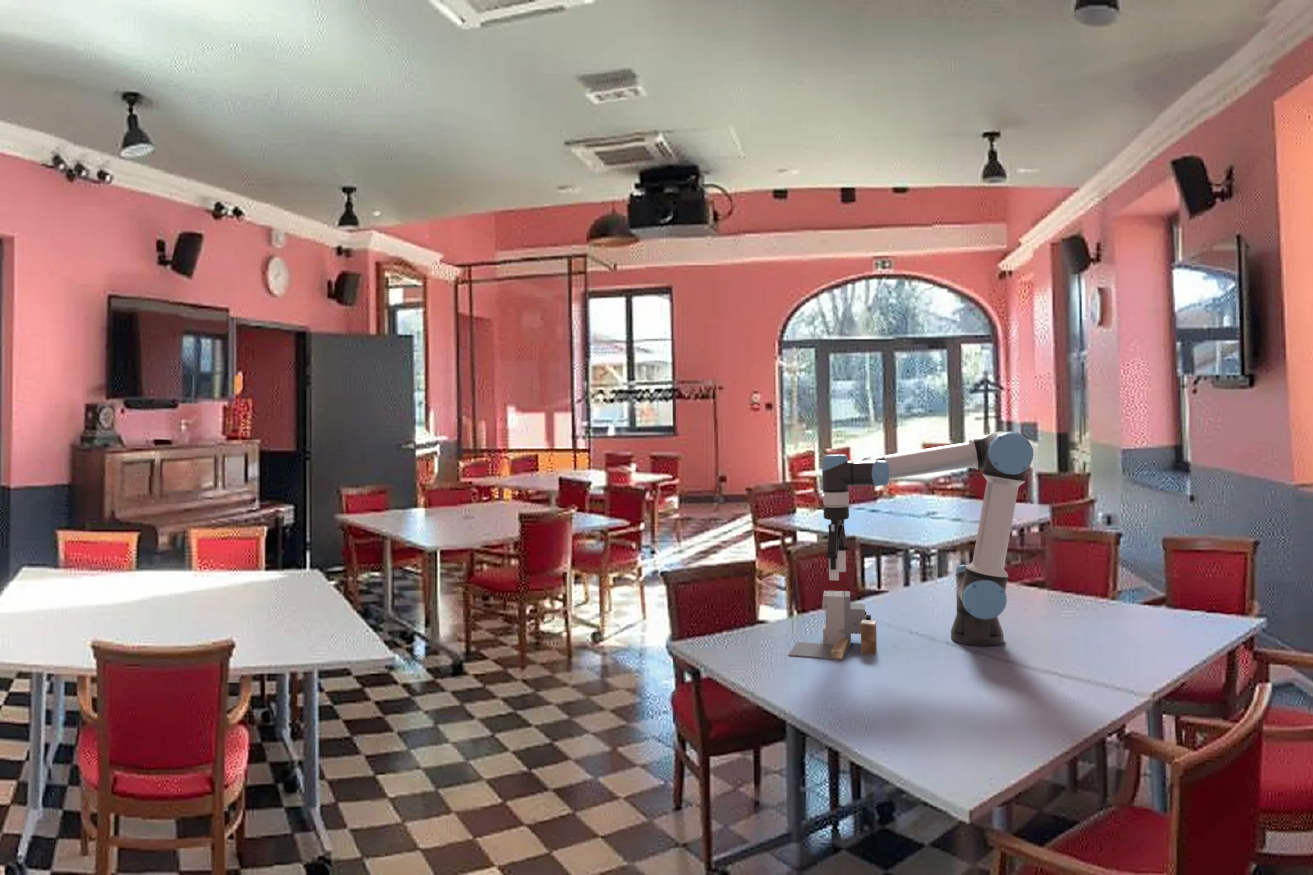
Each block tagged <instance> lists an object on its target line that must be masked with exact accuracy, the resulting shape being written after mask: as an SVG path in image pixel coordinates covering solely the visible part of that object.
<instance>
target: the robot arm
mask: <svg viewBox="0 0 1313 875" xmlns="http://www.w3.org/2000/svg"><path fill="white" fill-rule="evenodd" d="M1033 460H1034V448H1033V445H1032V444H1031V441H1029V439H1028V438H1027V437H1026V436H1024V435H1023V434H1021V433H1020V432H1016V431H1011V430H998V431H995V432H993V433H989V434H986V435H982V436H977V437H972V438H970V439H969V441H967V442H962V443H955V444H949V445H942V446H936V447H930V448H924V449H916V450H912V451H911V450H910V451H904V452H899V453H892V454H886V455H880V456H875V457H874V456H873V457H871V456H869V457H864V458H863V459H861V460H856V461H855V460H849V459H848V455H847V454H842V453H841V454H839V453H838V454H826V455H824V456H823V457H822V468H821V471H822V472H821V473H822V478H821V479H822V491H823V492H822V493H823V494H821V496H820V497H821V498H822V499H823V500H822V501H823V505H824V507H822V508H823V518H824V520H828V521H829V520H830V524H828V526H827V527H828V536H827V539H828V540H827V554H826V555H825V559H828V578H829V581H840V573H846V572H847V560H846V559H847V556H846V555H847V553H846V551H848V550H849V547H848V545H847V540H846V539H847V537H846V530H845V520H848V519H849V518H850V507H849V506H848V505H849V504H850V500H849V498H850V494H849V492H850V491H849V487H857V486H858V487H859V486H861V487H862V486H863V487H871V486H873V487H879V486H888V485H889V483H890V480H892V479H893V480H894V479H899V478H906V477H914V476H920V475H926V474H932V473H933V474H934V473H939V472H947V471H952V470H960V469H966V468H967V469H968V468H974V469H976V470H982V469H983V470H982V476H983V478H984V479H985V480H986V484H985V489H984V495H983V501H982V507H981V513H980V519H979V523H978V529H977V534H976V538H975V539H976V540H975V544H974V545H975V546H974V552H973V556H972V561H971V563H969V564H958V565H957V566H956V569H955V571H956V572H955V586H956V592H955V593H956V597H955V598H956V615H955V616H954V620H953V624H952V626H951V629H950V639H951V640H952V641H954V642H956V643H959V644H963V645H968V646H978V647H990V646H998V645H1001V644H1003V643H1004V641H1005V640H1004V639H1005V637H1004V635H1005V634H1004V632H1003V629H1002V625H1001V623H1000V620H999V616H1001V614H1002V613H1003V612H1004V610H1005V609H1006V606H1007V602H1008V599H1007V597H1008V596H1007V594H1006V591H1007V584H1008V579H1009V574H1008V572H1007V571H1006V570H1005V564H1006V563H1005V562H1006V558H1007V553H1008V548H1009V547H1008V546H1009V541H1010V537H1011V536H1010V535H1011V531H1012V524H1013V521H1014V514H1015V510H1016V509H1015V508H1016V504H1017V503H1016V502H1017V498H1018V491H1019V487H1020V486H1021V485H1023V484H1025V482H1026V481H1027V480H1026V479H1027V477H1028V476H1027V475H1028V470H1029V468H1030V466H1031V465H1032V463H1033Z"/></svg>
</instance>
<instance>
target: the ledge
mask: <svg viewBox="0 0 1313 875" xmlns="http://www.w3.org/2000/svg"><path fill="white" fill-rule="evenodd" d="M847 647H848V639H841V638H838V639H837V641H836V643H835V645H834V647H833V648H832V650H831V658H840V659H842V657H843V655H844V653H845V651H846V649H847Z"/></svg>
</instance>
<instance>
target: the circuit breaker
mask: <svg viewBox="0 0 1313 875" xmlns="http://www.w3.org/2000/svg"><path fill="white" fill-rule="evenodd" d="M821 605H822V611H825V622H824V623H823V628H822V639H823V640H822V644H834V645H835V643H836V641H837V639H838V638H841V639H848V646H850V647H851V645H852V643H851V642H852V635H853V634H854V635H861V622H862V620H872V616H871V614H867V611H866V604H865V603H854V602H853V603H851V591H849V590H845V591H844V590H824V591H823V595H822V604H821Z"/></svg>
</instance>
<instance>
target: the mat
mask: <svg viewBox="0 0 1313 875" xmlns="http://www.w3.org/2000/svg"><path fill="white" fill-rule="evenodd" d="M833 647H834V644H823V643H816V642H802V641H796V643H795V644H794V645H793V647H792V648H791V649H790V651H788V654H787V656H788V657H798V658H810V659H811V658H812V659H826V660H837V661H844V660H845V658H846V657H847V654H848V652H849V650H850V648H851V646H848V647H847V649H846V651H845V653H844V655H843V657H842V659H840V658H831V650H832V648H833Z"/></svg>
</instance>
